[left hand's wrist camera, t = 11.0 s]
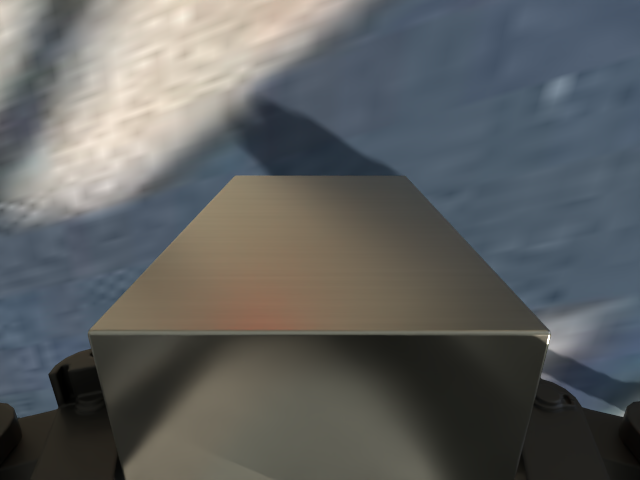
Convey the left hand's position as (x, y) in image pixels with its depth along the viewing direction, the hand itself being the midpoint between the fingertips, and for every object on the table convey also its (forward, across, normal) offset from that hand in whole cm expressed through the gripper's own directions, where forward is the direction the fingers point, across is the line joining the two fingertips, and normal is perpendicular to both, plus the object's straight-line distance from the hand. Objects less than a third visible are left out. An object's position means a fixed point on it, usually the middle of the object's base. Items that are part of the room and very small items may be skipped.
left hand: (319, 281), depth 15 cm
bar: (+1, 0, -9) cm, 9 cm away
